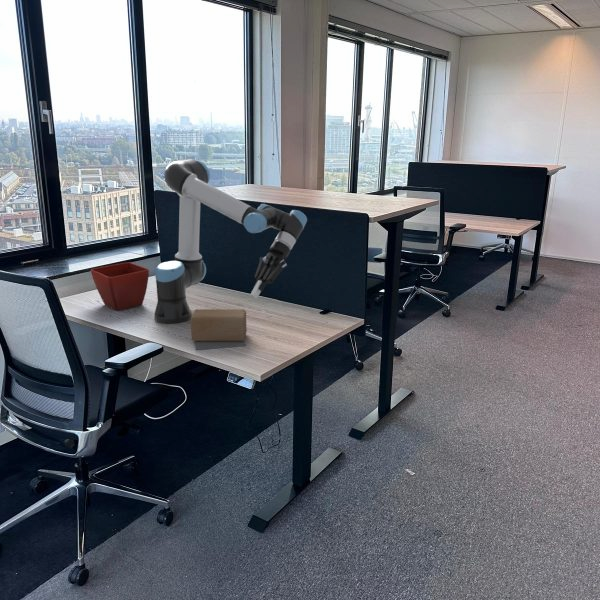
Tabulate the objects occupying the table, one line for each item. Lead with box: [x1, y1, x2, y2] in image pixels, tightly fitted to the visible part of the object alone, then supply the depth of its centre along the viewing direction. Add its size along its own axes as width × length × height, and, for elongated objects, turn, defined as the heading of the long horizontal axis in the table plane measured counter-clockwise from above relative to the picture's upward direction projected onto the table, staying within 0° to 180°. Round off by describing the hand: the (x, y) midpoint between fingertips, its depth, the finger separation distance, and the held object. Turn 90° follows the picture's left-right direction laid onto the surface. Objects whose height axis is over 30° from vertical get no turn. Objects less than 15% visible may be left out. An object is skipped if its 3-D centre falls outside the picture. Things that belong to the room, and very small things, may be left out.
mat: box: [194, 340, 246, 351], centre depth 201 cm, size 18×12×1 cm, turn 105°
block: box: [189, 308, 248, 342], centre depth 203 cm, size 10×10×20 cm
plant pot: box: [90, 261, 150, 311], centre depth 240 cm, size 19×19×17 cm
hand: (253, 296), depth 200 cm, fingers closed
